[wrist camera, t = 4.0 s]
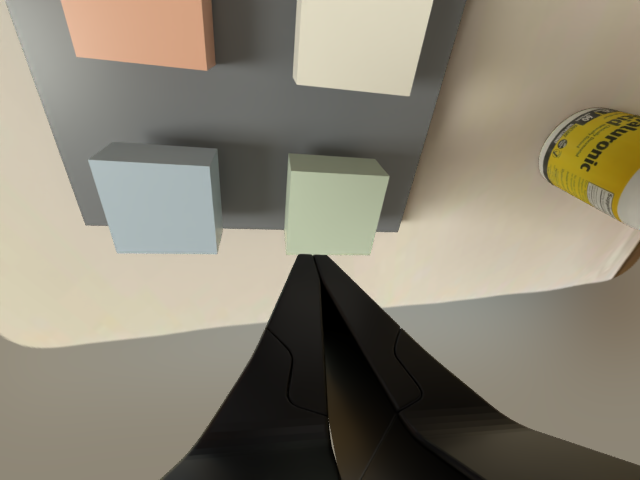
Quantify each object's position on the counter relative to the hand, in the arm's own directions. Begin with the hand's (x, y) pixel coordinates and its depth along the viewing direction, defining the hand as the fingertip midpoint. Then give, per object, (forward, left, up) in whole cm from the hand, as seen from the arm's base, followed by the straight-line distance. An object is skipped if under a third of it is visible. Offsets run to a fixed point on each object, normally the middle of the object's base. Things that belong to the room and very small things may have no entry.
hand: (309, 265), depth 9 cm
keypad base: (+2, -2, -12) cm, 12 cm away
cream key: (-2, -6, -9) cm, 11 cm away
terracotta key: (+6, -6, -10) cm, 14 cm away
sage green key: (-2, +2, -9) cm, 9 cm away
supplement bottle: (-20, -1, -12) cm, 23 cm away
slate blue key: (+6, +2, -9) cm, 11 cm away
